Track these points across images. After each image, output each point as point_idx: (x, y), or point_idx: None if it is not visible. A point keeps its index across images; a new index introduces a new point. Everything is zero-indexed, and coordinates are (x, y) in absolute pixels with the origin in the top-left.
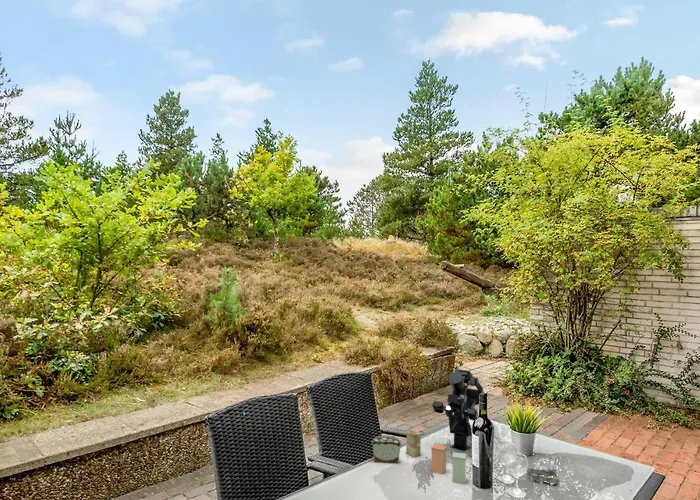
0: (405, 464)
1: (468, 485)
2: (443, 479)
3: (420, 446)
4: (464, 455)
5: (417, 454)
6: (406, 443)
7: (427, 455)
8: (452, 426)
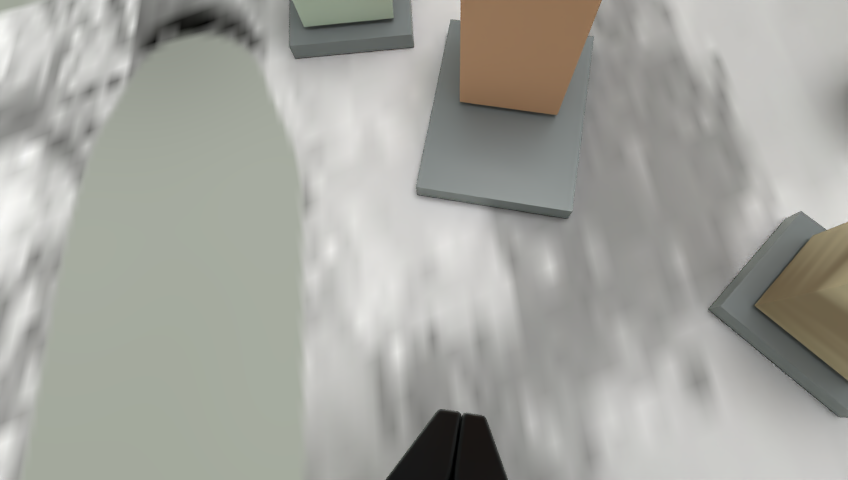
0: (817, 148)
1: None
2: None
3: (822, 290)
4: None
5: (789, 275)
6: None
7: (698, 428)
8: (417, 446)
